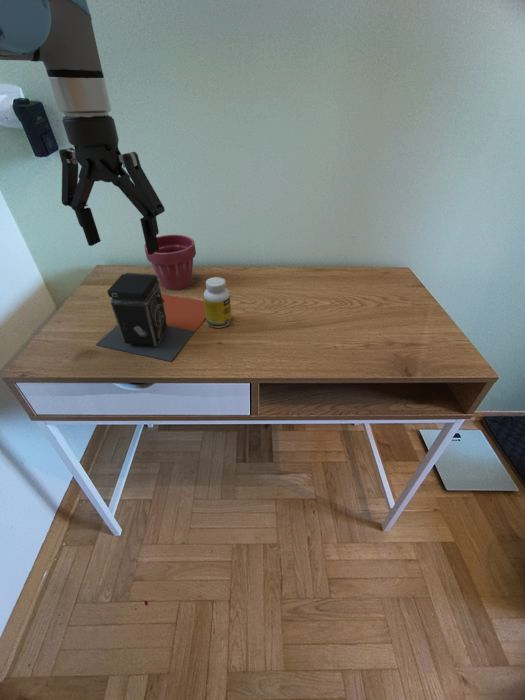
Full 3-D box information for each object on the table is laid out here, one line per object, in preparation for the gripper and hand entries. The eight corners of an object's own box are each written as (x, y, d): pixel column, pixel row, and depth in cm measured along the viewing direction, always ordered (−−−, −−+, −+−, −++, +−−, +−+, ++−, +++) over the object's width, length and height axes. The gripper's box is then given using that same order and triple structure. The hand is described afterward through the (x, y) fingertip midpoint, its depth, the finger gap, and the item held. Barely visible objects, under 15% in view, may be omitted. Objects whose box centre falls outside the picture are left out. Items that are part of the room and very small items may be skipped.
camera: (176, 324, 82) (165, 270, 73) (162, 350, 74) (148, 292, 64) (137, 321, 83) (121, 267, 73) (119, 346, 75) (99, 289, 65)
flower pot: (177, 298, 93) (169, 256, 84) (143, 286, 98) (133, 245, 90) (208, 279, 102) (204, 240, 94) (175, 269, 108) (169, 231, 100)
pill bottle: (222, 331, 80) (219, 290, 73) (201, 324, 83) (196, 284, 75) (236, 318, 85) (234, 279, 78) (215, 312, 87) (211, 273, 80)
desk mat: (95, 345, 75) (95, 344, 75) (154, 293, 95) (154, 292, 95) (171, 362, 71) (171, 361, 71) (216, 304, 91) (216, 303, 90)
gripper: (170, 115, 50) (189, 248, 63) (42, 111, 55) (84, 233, 69) (143, 118, 44) (169, 263, 58) (3, 113, 50) (57, 246, 63)
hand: (123, 247), depth 63 cm, fingers open, 13 cm apart
